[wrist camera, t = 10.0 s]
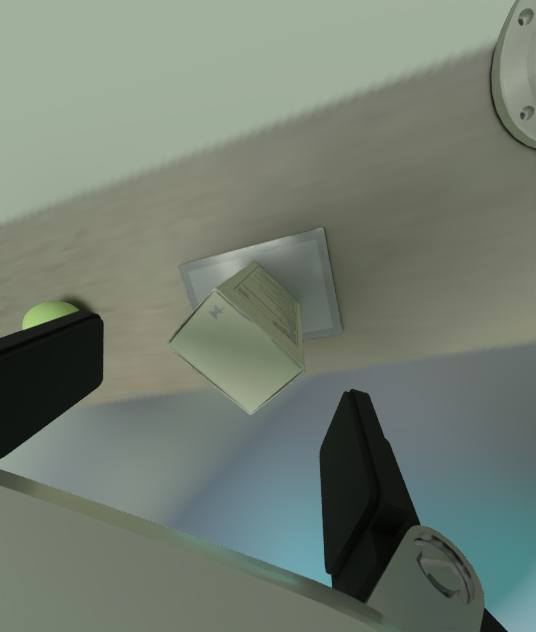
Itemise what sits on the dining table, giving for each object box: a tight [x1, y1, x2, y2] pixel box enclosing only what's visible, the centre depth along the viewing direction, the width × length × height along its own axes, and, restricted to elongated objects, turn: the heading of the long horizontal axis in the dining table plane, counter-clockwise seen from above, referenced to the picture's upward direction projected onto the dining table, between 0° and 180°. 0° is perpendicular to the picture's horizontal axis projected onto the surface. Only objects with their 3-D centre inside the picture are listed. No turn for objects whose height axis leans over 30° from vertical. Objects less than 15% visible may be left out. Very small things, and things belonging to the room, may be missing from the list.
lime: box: [22, 301, 79, 330], centre depth 26 cm, size 5×5×5 cm
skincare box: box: [167, 261, 305, 414], centre depth 18 cm, size 6×4×12 cm
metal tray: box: [178, 227, 343, 340], centre depth 25 cm, size 14×10×1 cm
